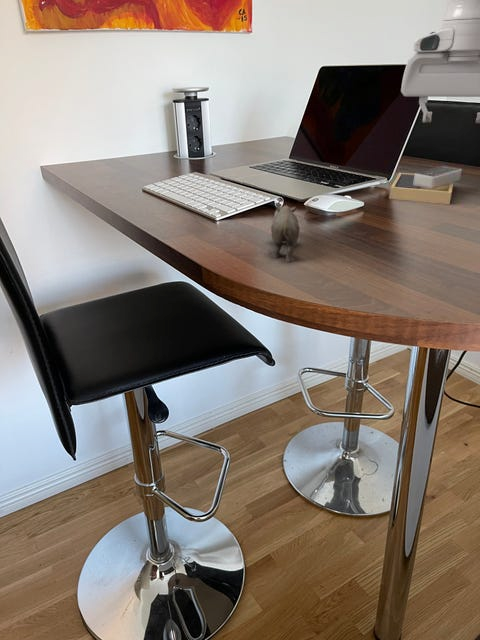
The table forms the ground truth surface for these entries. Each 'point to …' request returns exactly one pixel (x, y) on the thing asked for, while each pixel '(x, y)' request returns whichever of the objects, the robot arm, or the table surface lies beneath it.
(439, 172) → the multiport hub
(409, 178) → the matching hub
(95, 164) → the table surface
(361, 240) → the table surface
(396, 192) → the tray
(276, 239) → the rhino figurine
